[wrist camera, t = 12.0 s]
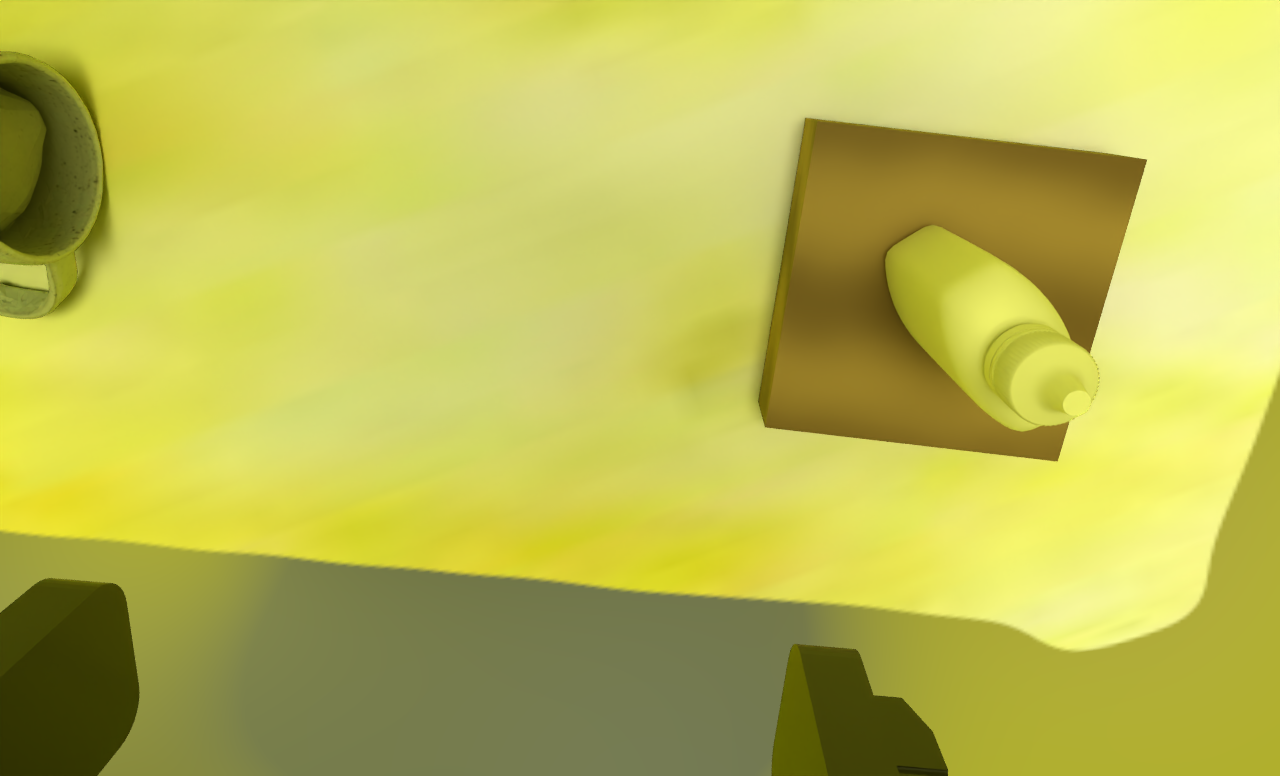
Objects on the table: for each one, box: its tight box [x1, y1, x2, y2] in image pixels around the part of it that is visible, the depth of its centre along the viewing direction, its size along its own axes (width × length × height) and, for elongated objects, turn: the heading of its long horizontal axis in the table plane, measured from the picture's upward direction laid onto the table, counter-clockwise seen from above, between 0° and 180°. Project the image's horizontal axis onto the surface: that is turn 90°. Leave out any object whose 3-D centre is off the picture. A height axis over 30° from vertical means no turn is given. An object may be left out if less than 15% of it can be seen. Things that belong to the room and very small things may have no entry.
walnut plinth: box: [758, 118, 1147, 461], centre depth 35 cm, size 12×12×3 cm
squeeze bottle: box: [885, 225, 1100, 432], centre depth 28 cm, size 4×6×12 cm
